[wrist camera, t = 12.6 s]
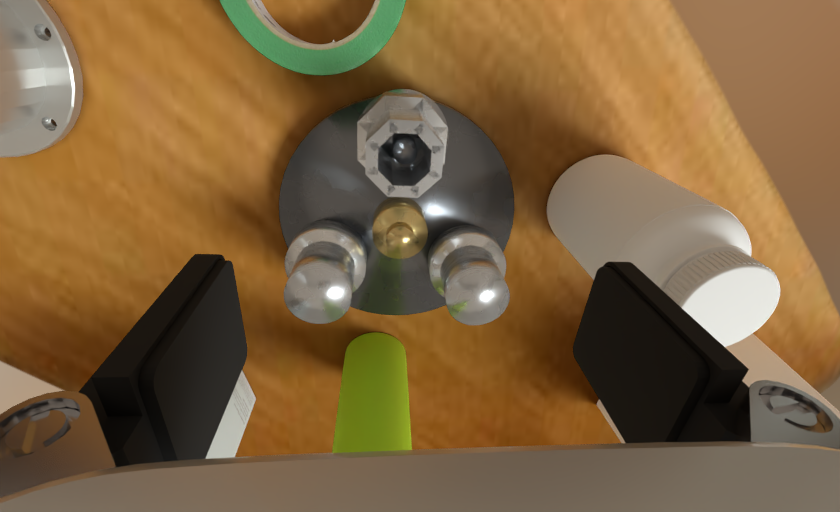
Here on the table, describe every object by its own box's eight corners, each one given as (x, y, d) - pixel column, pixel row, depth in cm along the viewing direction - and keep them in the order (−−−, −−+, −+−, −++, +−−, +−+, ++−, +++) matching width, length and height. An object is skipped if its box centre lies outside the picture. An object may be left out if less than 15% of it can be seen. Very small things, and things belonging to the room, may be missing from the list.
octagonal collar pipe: (359, 89, 27) (352, 103, 21) (446, 95, 27) (460, 109, 22) (359, 175, 29) (353, 206, 24) (438, 179, 30) (449, 209, 25)
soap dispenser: (331, 333, 38) (282, 594, 20) (405, 330, 38) (421, 582, 21) (336, 380, 40) (298, 644, 23) (406, 376, 41) (421, 633, 23)
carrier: (232, 209, 31) (193, 253, 25) (407, 33, 26) (413, 33, 20) (392, 340, 39) (394, 400, 32) (552, 220, 34) (591, 263, 27)
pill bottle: (596, 258, 36) (717, 387, 23) (524, 218, 33) (613, 337, 20) (661, 182, 33) (846, 280, 20) (588, 132, 30) (741, 206, 17)
